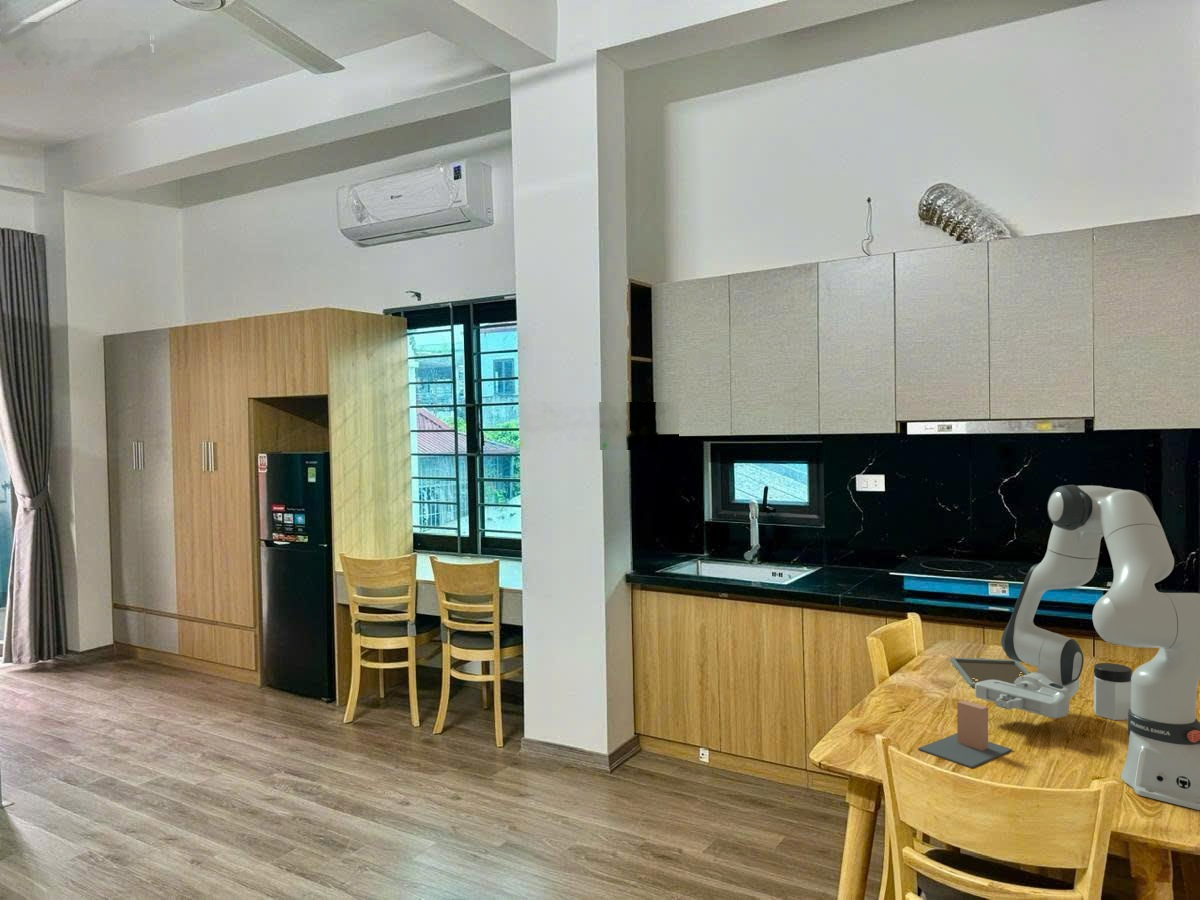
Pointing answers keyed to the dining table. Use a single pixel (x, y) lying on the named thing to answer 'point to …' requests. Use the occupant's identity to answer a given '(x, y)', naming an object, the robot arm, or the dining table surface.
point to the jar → (1112, 690)
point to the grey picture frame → (988, 669)
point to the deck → (972, 725)
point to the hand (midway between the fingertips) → (1001, 704)
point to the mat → (963, 751)
